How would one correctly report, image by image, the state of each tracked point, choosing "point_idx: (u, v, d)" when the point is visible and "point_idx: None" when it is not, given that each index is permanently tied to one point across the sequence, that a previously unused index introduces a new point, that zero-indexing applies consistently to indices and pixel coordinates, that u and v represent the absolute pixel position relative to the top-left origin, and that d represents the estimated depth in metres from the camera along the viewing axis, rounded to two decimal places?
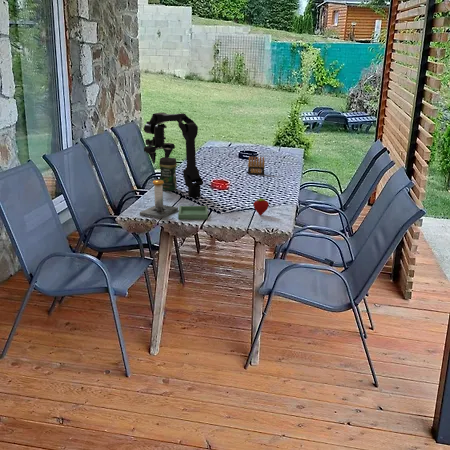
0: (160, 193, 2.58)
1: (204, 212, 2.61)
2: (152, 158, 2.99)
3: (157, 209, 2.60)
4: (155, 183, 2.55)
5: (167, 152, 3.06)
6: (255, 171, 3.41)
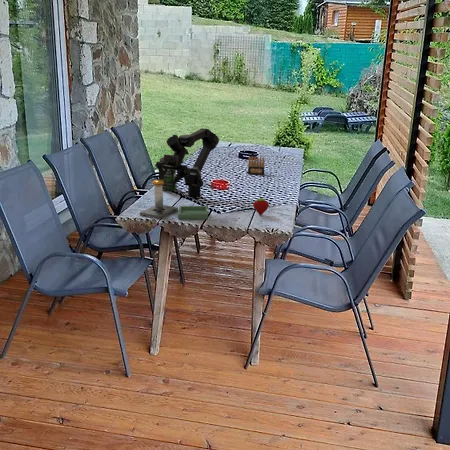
0: (160, 193, 2.58)
1: (204, 212, 2.61)
2: (178, 179, 2.65)
3: (157, 209, 2.60)
4: (155, 183, 2.55)
5: (163, 173, 2.71)
6: (255, 171, 3.41)
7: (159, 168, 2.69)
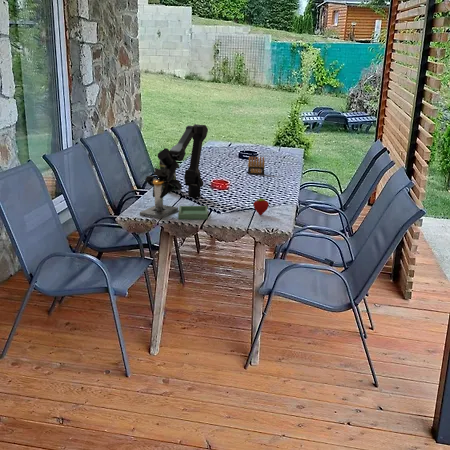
0: (160, 193, 2.58)
1: (204, 212, 2.61)
2: (165, 193, 2.59)
3: (157, 209, 2.60)
4: (155, 183, 2.55)
5: None
6: (255, 171, 3.41)
7: None
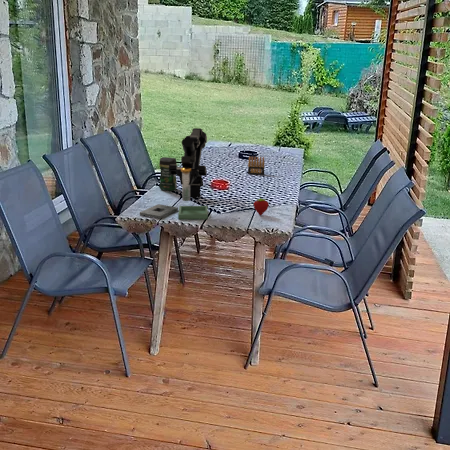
0: (189, 180, 2.62)
1: (204, 212, 2.61)
2: (193, 179, 2.64)
3: (186, 196, 2.64)
4: (185, 170, 2.59)
5: None
6: (255, 171, 3.41)
7: (179, 171, 2.64)
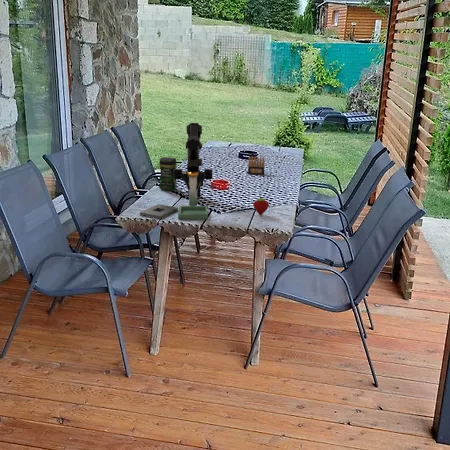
0: (196, 184, 2.54)
1: (204, 212, 2.61)
2: (199, 183, 2.56)
3: (193, 201, 2.56)
4: (193, 175, 2.51)
5: None
6: (255, 171, 3.41)
7: (185, 175, 2.55)
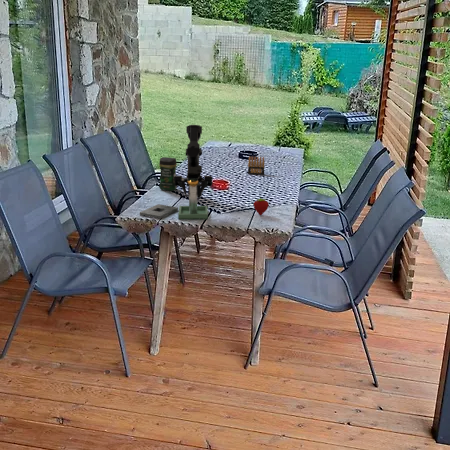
0: (196, 193, 2.56)
1: (204, 212, 2.61)
2: (202, 190, 2.57)
3: (194, 209, 2.57)
4: (193, 183, 2.52)
5: None
6: (255, 171, 3.41)
7: (183, 182, 2.56)
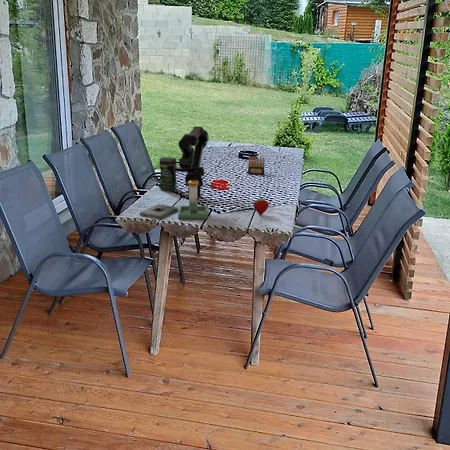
0: (196, 193, 2.56)
1: (204, 212, 2.61)
2: None
3: (194, 210, 2.57)
4: (193, 183, 2.52)
5: (175, 176, 2.68)
6: (255, 171, 3.41)
7: (172, 172, 2.65)
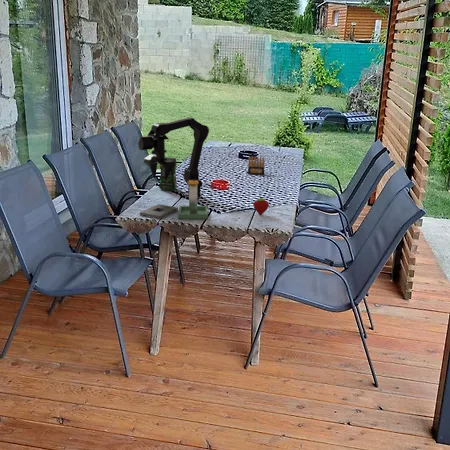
0: (196, 193, 2.56)
1: (204, 212, 2.61)
2: (167, 173, 2.72)
3: (194, 210, 2.57)
4: (193, 183, 2.52)
5: (155, 166, 2.78)
6: (255, 171, 3.41)
7: (148, 165, 2.76)
